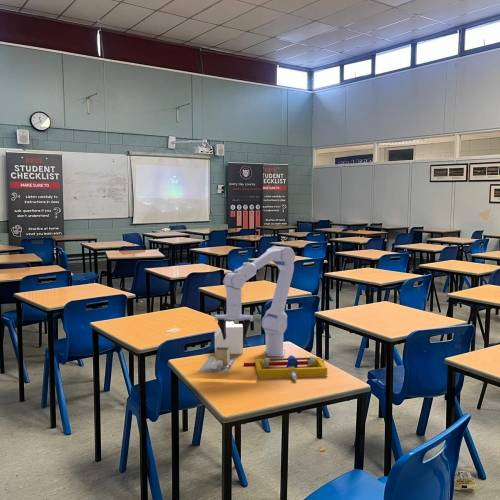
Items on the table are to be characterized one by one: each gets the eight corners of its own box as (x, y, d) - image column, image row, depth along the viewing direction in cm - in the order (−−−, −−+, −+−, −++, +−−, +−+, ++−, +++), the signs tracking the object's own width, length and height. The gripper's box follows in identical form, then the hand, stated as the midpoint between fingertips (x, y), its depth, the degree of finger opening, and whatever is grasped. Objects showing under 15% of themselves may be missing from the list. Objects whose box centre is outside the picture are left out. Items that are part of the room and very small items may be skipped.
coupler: (215, 366, 189) (215, 349, 189) (218, 362, 193) (217, 345, 193) (227, 366, 188) (227, 349, 188) (229, 363, 193) (229, 346, 192)
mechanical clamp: (243, 351, 192) (322, 349, 194) (243, 368, 192) (322, 365, 194) (246, 366, 173) (333, 363, 176) (246, 384, 174) (333, 381, 176)
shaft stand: (209, 358, 203) (209, 349, 202) (236, 359, 201) (236, 350, 201) (197, 374, 184) (197, 363, 184) (227, 375, 182) (227, 364, 182)
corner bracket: (243, 356, 206) (242, 326, 205) (214, 357, 205) (214, 327, 205) (241, 349, 217) (241, 321, 216) (215, 349, 216) (214, 321, 215)
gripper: (213, 305, 192) (213, 341, 193) (251, 306, 190) (251, 342, 191) (217, 302, 199) (217, 336, 200) (253, 303, 197) (254, 337, 198)
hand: (234, 339), depth 196 cm, fingers open, 7 cm apart
